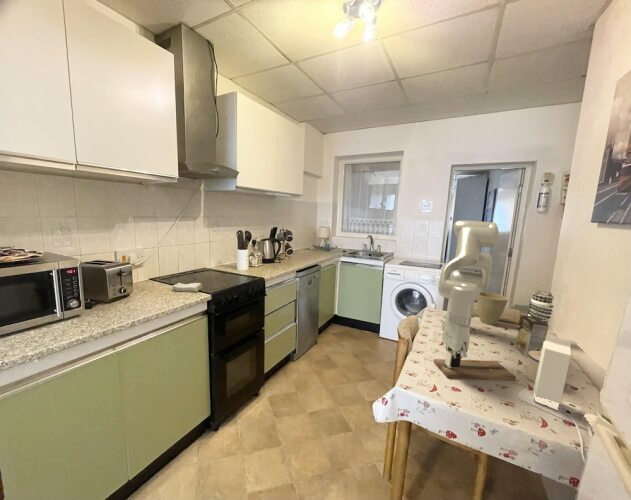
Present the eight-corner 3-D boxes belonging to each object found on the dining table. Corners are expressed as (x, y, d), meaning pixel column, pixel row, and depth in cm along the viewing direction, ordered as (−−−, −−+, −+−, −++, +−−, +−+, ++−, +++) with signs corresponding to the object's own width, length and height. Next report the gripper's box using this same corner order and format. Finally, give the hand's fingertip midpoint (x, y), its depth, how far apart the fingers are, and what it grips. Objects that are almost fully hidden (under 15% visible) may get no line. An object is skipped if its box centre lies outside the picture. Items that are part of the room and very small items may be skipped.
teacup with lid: (556, 391, 92) (563, 360, 90) (524, 379, 97) (529, 350, 96) (552, 375, 102) (558, 347, 100) (522, 366, 107) (528, 339, 105)
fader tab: (444, 363, 101) (446, 350, 101) (454, 363, 102) (456, 350, 101) (448, 367, 99) (451, 354, 98) (459, 368, 99) (461, 354, 98)
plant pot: (509, 328, 145) (514, 300, 142) (483, 327, 144) (488, 299, 142) (491, 317, 159) (495, 292, 157) (467, 316, 159) (471, 291, 157)
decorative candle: (536, 335, 137) (545, 289, 134) (551, 344, 128) (561, 295, 124) (518, 334, 137) (527, 288, 134) (532, 343, 128) (541, 294, 125)
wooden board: (433, 362, 105) (434, 358, 105) (495, 364, 107) (496, 360, 106) (447, 378, 95) (448, 374, 95) (515, 380, 97) (516, 376, 97)
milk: (532, 393, 90) (544, 332, 87) (556, 401, 87) (569, 338, 84) (534, 402, 85) (546, 338, 82) (559, 411, 82) (573, 345, 79)
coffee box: (514, 347, 123) (520, 314, 121) (529, 349, 122) (536, 316, 119) (525, 357, 114) (532, 322, 112) (542, 359, 113) (549, 324, 111)
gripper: (437, 309, 105) (432, 352, 108) (462, 327, 89) (454, 377, 92) (455, 310, 106) (449, 353, 108) (483, 328, 90) (475, 378, 92)
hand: (452, 363), depth 100 cm, fingers closed on fader tab, 3 cm apart
